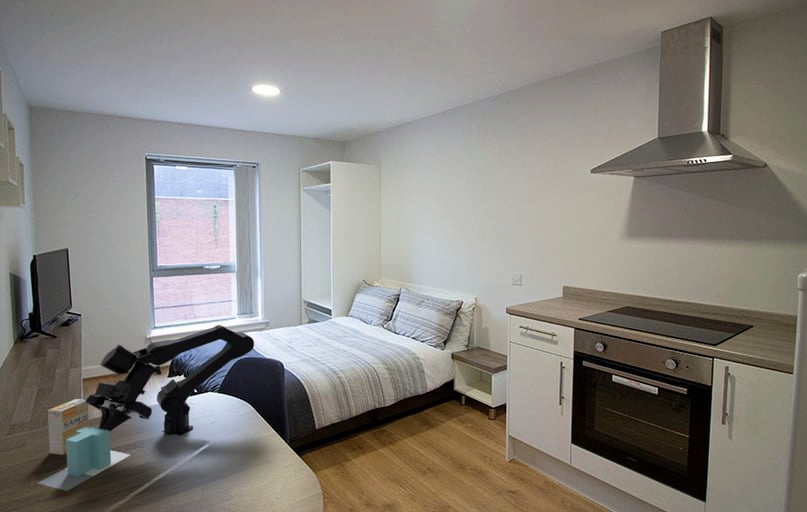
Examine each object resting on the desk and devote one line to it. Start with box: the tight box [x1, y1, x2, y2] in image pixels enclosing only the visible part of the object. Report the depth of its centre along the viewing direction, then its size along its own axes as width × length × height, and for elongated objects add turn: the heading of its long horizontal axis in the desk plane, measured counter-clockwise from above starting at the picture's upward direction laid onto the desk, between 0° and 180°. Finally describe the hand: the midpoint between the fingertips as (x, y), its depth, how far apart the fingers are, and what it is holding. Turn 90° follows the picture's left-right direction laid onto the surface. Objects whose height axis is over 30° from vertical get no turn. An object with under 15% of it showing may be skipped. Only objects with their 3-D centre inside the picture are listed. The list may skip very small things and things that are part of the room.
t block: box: [66, 426, 111, 477], centre depth 112 cm, size 7×8×9 cm
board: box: [37, 449, 131, 492], centre depth 113 cm, size 17×10×1 cm, turn 163°
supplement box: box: [47, 398, 90, 456], centre depth 123 cm, size 8×5×13 cm, turn 168°
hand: (98, 437), depth 116 cm, fingers closed, pressing on t block
